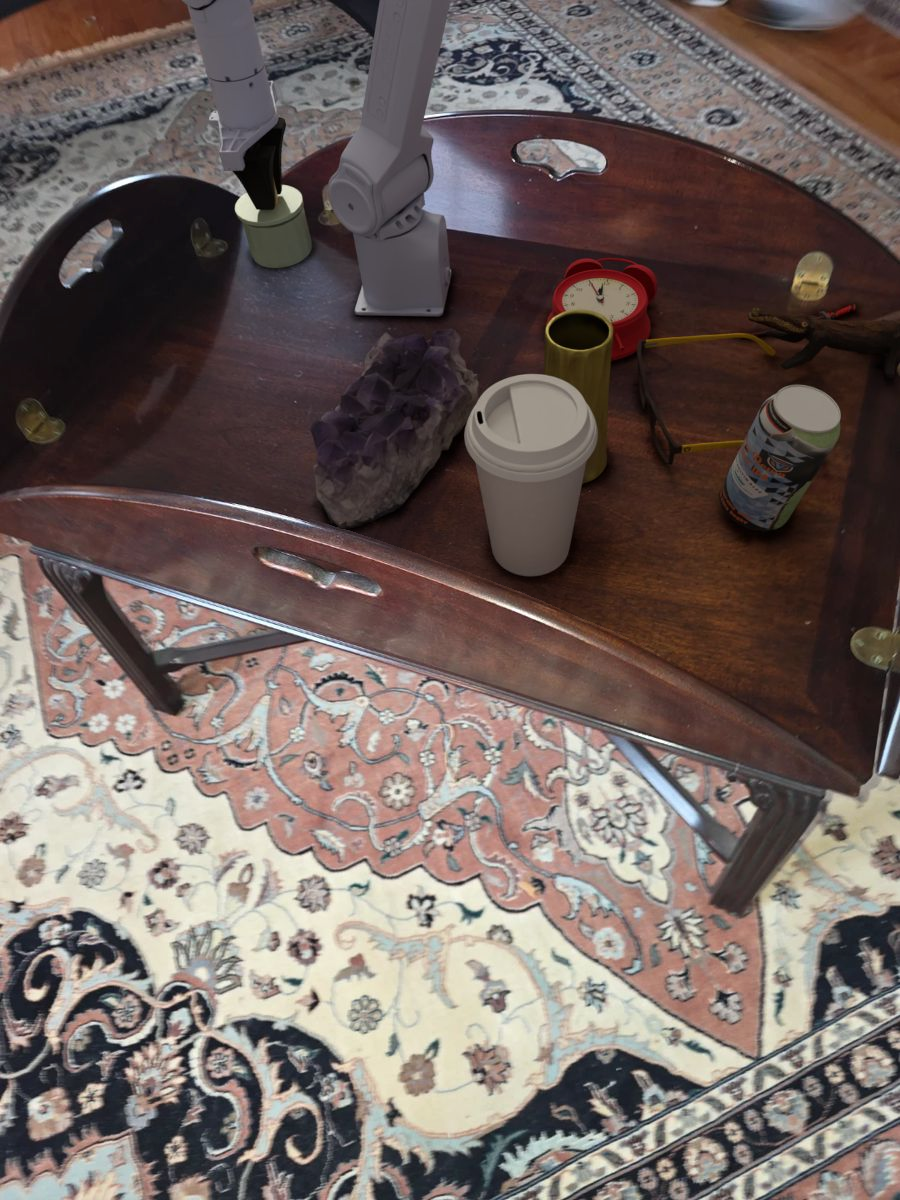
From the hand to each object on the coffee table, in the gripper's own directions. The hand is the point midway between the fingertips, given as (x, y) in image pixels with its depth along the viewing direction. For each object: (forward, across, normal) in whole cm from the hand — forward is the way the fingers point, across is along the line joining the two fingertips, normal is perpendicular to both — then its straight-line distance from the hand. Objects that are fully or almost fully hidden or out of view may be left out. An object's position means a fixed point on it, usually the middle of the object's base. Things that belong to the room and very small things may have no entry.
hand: (269, 200), depth 97 cm
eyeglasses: (+6, +26, +48) cm, 55 cm away
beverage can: (+6, +37, +51) cm, 63 cm away
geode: (+6, +32, +19) cm, 38 cm away
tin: (+6, 0, 0) cm, 6 cm away
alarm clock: (+6, +12, +37) cm, 39 cm away
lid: (+1, 0, 0) cm, 1 cm away
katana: (+6, +14, +56) cm, 59 cm away
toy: (+7, +18, +60) cm, 63 cm away
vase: (+6, +32, +35) cm, 48 cm away
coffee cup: (+6, +42, +32) cm, 53 cm away
